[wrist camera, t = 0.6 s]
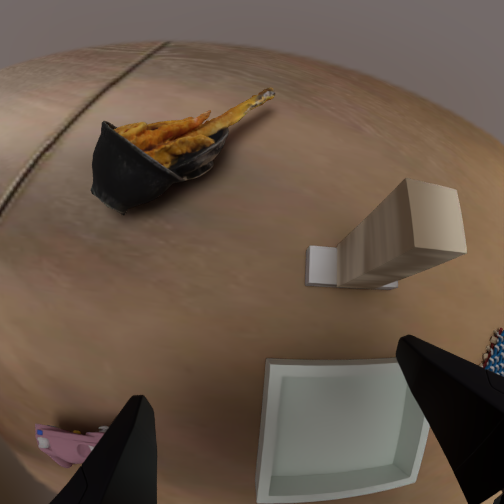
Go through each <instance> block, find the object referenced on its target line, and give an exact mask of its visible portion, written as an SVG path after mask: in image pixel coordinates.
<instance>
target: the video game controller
mask: <svg viewBox="0 0 504 504" xmlns="http://www.w3.org/2000/svg"><path fill="white" fill-rule="evenodd" d="M108 428H109V427H108V426H101V427H99V429H102V430H101V431H99V432H94V433H92V432H87V433H86V435H82V434H81V432H80V431H77V430H74V431H73V433H72V432H69V431H66V430H62V429H59V428H58V427H55V426H50V425H41V424H35V429H36V440H37V443H38V446H39V448H40V449H41V450H42V451H43V452H45V453H46V454H48V455H49V456H50V457H51V458H52V459H53V460H54V461H55V462H56V463H58V464H59V465H60V466H62V467H65V468H69V467H71V466H72V464H73V463H74V464H78V463H83V462H84V461H85V459H86V458H87V457H88V455H89V454H90V452H91V451H92V450H93V448H94V447H95V445H96V444H97V443H98V441H99V440H100V439H101V437H102V436H103V435H104V433H105V432H106V430H107V429H108Z"/></svg>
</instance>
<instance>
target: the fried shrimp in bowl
mask: <svg viewBox="0 0 504 504" xmlns="http://www.w3.org/2000/svg"><path fill="white" fill-rule="evenodd" d="M274 96H275V92H274V89H273V88H267V89H264V90H263V91H262V92H260V93H259V94H258V95H253V96H252V97H251V98H250V99H248V100H246V101H245V102H243V103H241V104H239V105H237V106H236V107H234V108H231V109H230V110H228V111H227V112H225V113H224V114H222V115H221V116H218V117H217V118H213V119H211V120H210V121H206V122H205V123H204V124H202V123H203V121H205V120H206V119H207V118H208V117H209V115H210V113H211V110H209V111H207V112H204V113H203V114H201V115H200V116H199V117H197V118H192V117H188V118H185V119H183V120H172V121H164V122H157V123H152V124H148V125H147V124H146V123H145V122H140V123H134V124H128V125H125V126H121V127H118V128H117V127H115V126H114V125H112V124H111V123H109V122H107V121H103V122H102V127H101V135H100V137H99V140H98V142H97V144H96V147H95V150H94V153H93V161H92V170H93V185H92V188H91V192H92V194H93V195H95V196H96V197H98V198H99V199H100V200H101V201H102V202H104V204H105V205H106V206H107V207H110V208H112V209H114V210H116V211H117V212H119V213H121V214H122V215H125V213H126V211H127V210H128V209H129V208H131V207H134V206H137V205H140V204H144V203H147V202H150V201H152V200H154V199H155V198H157V197H158V196H160V195H161V194H163V193H164V192H165V191H166V190H167V189H168V188H169V187H170V186H171V185H172V184H173V183H176V182H183V181H186V180H189V179H194V178H197V177H199V176H201V175H203V174H205V173H206V172H207V171H209V170H210V169H211V168H212V167H213V165H214V162H213V159H214V158H215V157H216V156H217V155H218V154H219V152H220V151H221V149H222V148H223V145H224V144H225V139H226V137H227V136H228V132H229V131H228V127H229V126H231V125H233V124H235V123H237V122H238V121H240V120H241V119H242V118H243V117H244V116H245V115H246V114H247V112H248V111H249V110H252V109H254V108H256V107H258V106H260V105H262V104H264V103H265V102H266V101H268V100H271V99H273V98H274Z"/></svg>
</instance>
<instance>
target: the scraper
mask: <svg viewBox="0 0 504 504" xmlns="http://www.w3.org/2000/svg"><path fill="white" fill-rule="evenodd" d="M466 253H467V248H466V240H465V233H464V226H463V220H462V214H461V209H460V204H459V199H458V194H457V190H455V189H451V188H448V187H444V186H440V185H436V184H432V183H427V182H423V181H419V180H414V179H410V178H405V179H404V180H403V181H402V182H401V183H400V184H399V185H398V186H397V187H396V188H395V189H394V190H393V191H392V192H391V193H390V194H389V195H388V196H387V197H386V198H385V199H384V200H383V201H382V202H381V203H380V204H379V205H378V206H377V207H376V208H375V209H374V210H373V211H372V212H371V213H370V214H369V215H368V216H367V217H366V218H365V219H364V220H363V221H362V222H361V223H360V224H359V225H358V226H357V227H356V228H355V229H354V230H353V231H352V232H351V233H350V234H349V235H348V236H347V237H346V238H345V239H343V240H342V241H341V242H340V243H339V244H338V245H337V248H333V247H321V246H309V247H308V249H307V250H306V272H305V286H321V287H339V288H358V289H380V290H391V289H394V288H398V280H401V279H404V278H406V277H409V276H412V275H414V274H417V273H419V272H422V271H425V270H427V269H430V268H432V267H435V266H437V265H440V264H442V263H445V262H447V261H450V260H452V259H454V258H457V257H459V256H461V255H464V254H466Z"/></svg>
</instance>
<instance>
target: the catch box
mask: <svg viewBox="0 0 504 504" xmlns="http://www.w3.org/2000/svg"><path fill="white" fill-rule="evenodd" d="M429 427H430V425H429V423H428V421H427V420H426V418H425V416H424V414H423V412H422V411H421V409H420V407H419V405H418V403H417V402H416V400H415V398H414V396H413V395H412V393H411V391H410V389H409V387H408V384H407V382H406V380H405V377H404V375H403V373H402V371H401V368H400V366H399V364H398V362H397V359H396V358H379V359H353V360H301V359H274V358H266V364H265V377H264V389H263V400H262V412H261V423H260V434H259V444H258V454H257V464H256V474H255V488H256V501H257V503H300V502H314V501H325V500H333V499H341V498H348V497H354V496H360V495H365V494H370V493H375V492H380V491H384V490H389V489H393V488H397V487H400V486H404V485H408V484H411V483H414V482H416V479H417V475H418V472H419V468H420V465H421V461H422V457H423V453H424V449H425V445H426V441H427V436H428V432H429Z"/></svg>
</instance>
